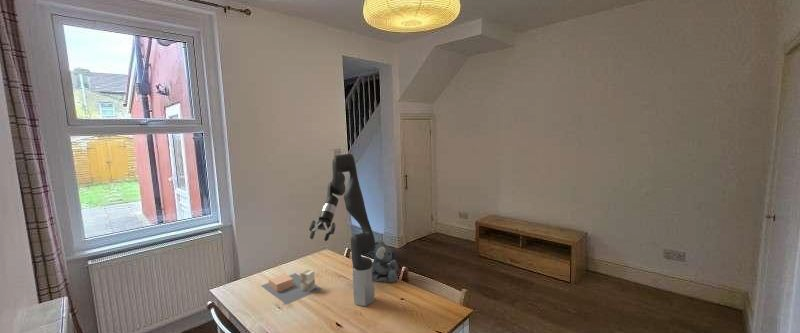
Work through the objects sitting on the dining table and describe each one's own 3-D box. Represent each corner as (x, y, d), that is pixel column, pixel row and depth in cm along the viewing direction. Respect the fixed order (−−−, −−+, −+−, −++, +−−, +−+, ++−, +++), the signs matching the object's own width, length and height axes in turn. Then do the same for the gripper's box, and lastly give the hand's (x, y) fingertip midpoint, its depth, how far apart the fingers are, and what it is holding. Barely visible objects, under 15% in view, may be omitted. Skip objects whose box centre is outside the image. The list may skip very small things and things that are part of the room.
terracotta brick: (293, 285, 167) (293, 278, 167) (277, 292, 160) (276, 284, 160) (285, 280, 173) (284, 273, 173) (269, 286, 167) (268, 279, 166)
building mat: (322, 289, 163) (322, 288, 163) (286, 305, 149) (286, 304, 149) (295, 274, 182) (295, 273, 182) (260, 286, 168) (260, 285, 168)
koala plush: (397, 283, 169) (397, 248, 167) (364, 284, 169) (363, 248, 167) (398, 270, 186) (398, 237, 184) (368, 270, 187) (367, 238, 185)
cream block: (314, 287, 165) (314, 270, 164) (308, 291, 161) (308, 274, 160) (307, 285, 167) (306, 269, 166) (300, 290, 162) (300, 273, 161)
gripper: (314, 208, 180) (303, 235, 171) (336, 211, 176) (327, 238, 167) (319, 214, 186) (309, 241, 177) (341, 217, 182) (332, 243, 173)
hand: (318, 239), depth 172 cm, fingers open, 8 cm apart
